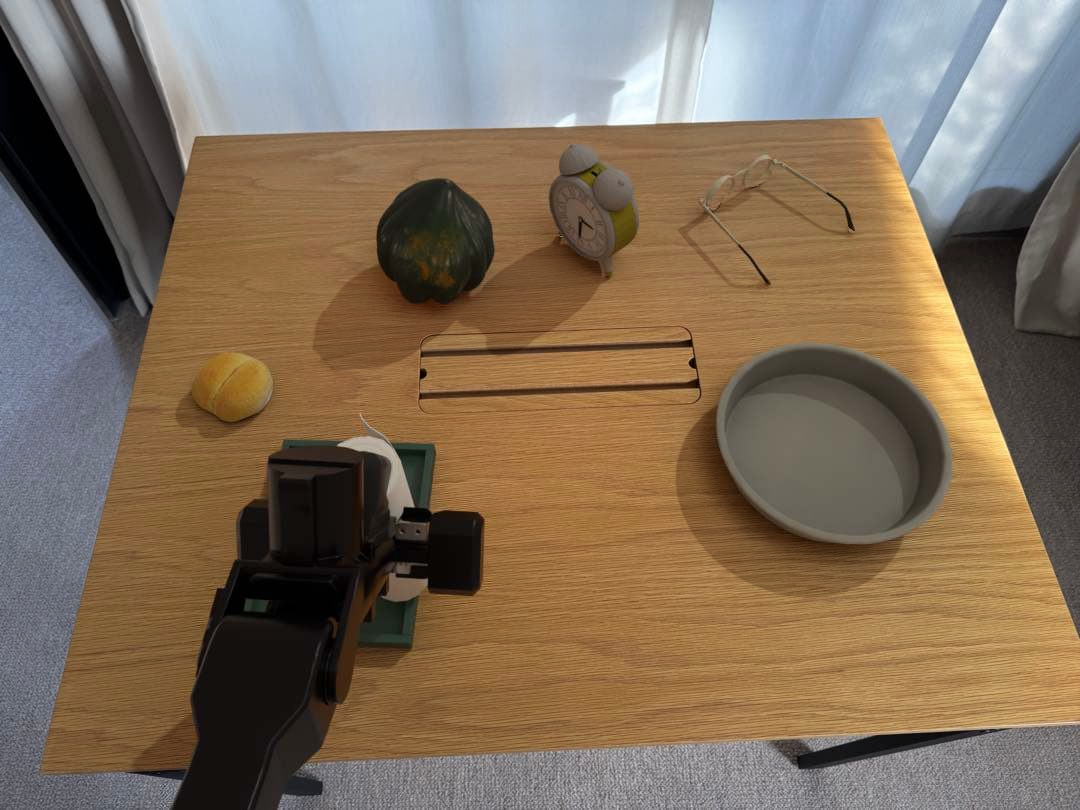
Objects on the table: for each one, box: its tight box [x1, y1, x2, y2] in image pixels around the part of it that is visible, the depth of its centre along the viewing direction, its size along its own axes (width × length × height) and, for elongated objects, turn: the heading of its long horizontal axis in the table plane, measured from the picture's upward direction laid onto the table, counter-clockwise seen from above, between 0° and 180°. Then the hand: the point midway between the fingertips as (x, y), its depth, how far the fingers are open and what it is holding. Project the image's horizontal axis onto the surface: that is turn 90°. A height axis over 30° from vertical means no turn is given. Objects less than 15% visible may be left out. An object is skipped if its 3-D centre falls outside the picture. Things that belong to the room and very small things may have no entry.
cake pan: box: [715, 342, 954, 545], centre depth 83 cm, size 25×25×4 cm
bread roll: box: [191, 351, 274, 423], centre depth 88 cm, size 8×9×4 cm
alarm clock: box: [548, 143, 640, 278], centre depth 95 cm, size 12×7×15 cm, turn 41°
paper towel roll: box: [337, 412, 428, 602], centre depth 66 cm, size 7×6×21 cm
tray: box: [244, 439, 437, 650], centre depth 79 cm, size 22×17×2 cm
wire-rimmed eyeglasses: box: [697, 154, 856, 286], centre depth 102 cm, size 17×15×5 cm
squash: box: [375, 177, 496, 306], centre depth 94 cm, size 14×15×15 cm
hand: (388, 510), depth 67 cm, fingers closed on paper towel roll, 3 cm apart
